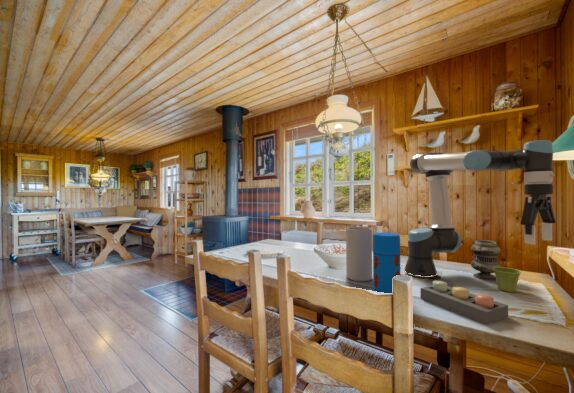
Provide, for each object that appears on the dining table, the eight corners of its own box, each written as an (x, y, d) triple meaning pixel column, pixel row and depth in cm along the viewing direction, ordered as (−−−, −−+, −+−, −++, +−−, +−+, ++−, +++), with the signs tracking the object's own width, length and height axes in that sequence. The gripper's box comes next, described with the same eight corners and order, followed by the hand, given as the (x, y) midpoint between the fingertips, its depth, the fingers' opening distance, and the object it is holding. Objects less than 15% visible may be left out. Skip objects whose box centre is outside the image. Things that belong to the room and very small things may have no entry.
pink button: (472, 306, 89) (472, 295, 89) (480, 304, 91) (480, 293, 91) (488, 312, 85) (488, 300, 85) (497, 309, 87) (497, 298, 87)
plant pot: (527, 294, 106) (526, 273, 106) (500, 293, 108) (500, 272, 108) (512, 286, 115) (511, 267, 115) (488, 285, 117) (488, 266, 117)
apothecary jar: (480, 280, 124) (479, 243, 124) (465, 273, 136) (465, 239, 136) (507, 281, 122) (507, 243, 122) (490, 273, 134) (490, 239, 134)
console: (420, 297, 104) (420, 288, 104) (440, 293, 109) (440, 283, 109) (487, 324, 82) (487, 312, 82) (508, 317, 87) (508, 305, 87)
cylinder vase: (361, 273, 138) (361, 226, 138) (377, 280, 126) (377, 229, 126) (341, 275, 134) (341, 227, 134) (356, 283, 122) (355, 230, 122)
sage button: (429, 291, 104) (429, 281, 104) (438, 289, 106) (438, 279, 106) (441, 295, 99) (441, 285, 99) (450, 293, 101) (450, 283, 101)
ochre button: (449, 298, 97) (449, 288, 97) (457, 296, 99) (457, 286, 99) (463, 303, 92) (463, 292, 92) (471, 301, 94) (471, 290, 94)
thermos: (368, 290, 113) (367, 233, 113) (387, 286, 117) (386, 231, 117) (386, 299, 103) (385, 236, 103) (406, 295, 107) (405, 235, 107)
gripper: (536, 182, 85) (536, 247, 85) (566, 183, 96) (567, 240, 96) (508, 183, 91) (508, 243, 91) (540, 184, 103) (540, 237, 103)
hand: (538, 242), depth 94 cm, fingers open, 13 cm apart
